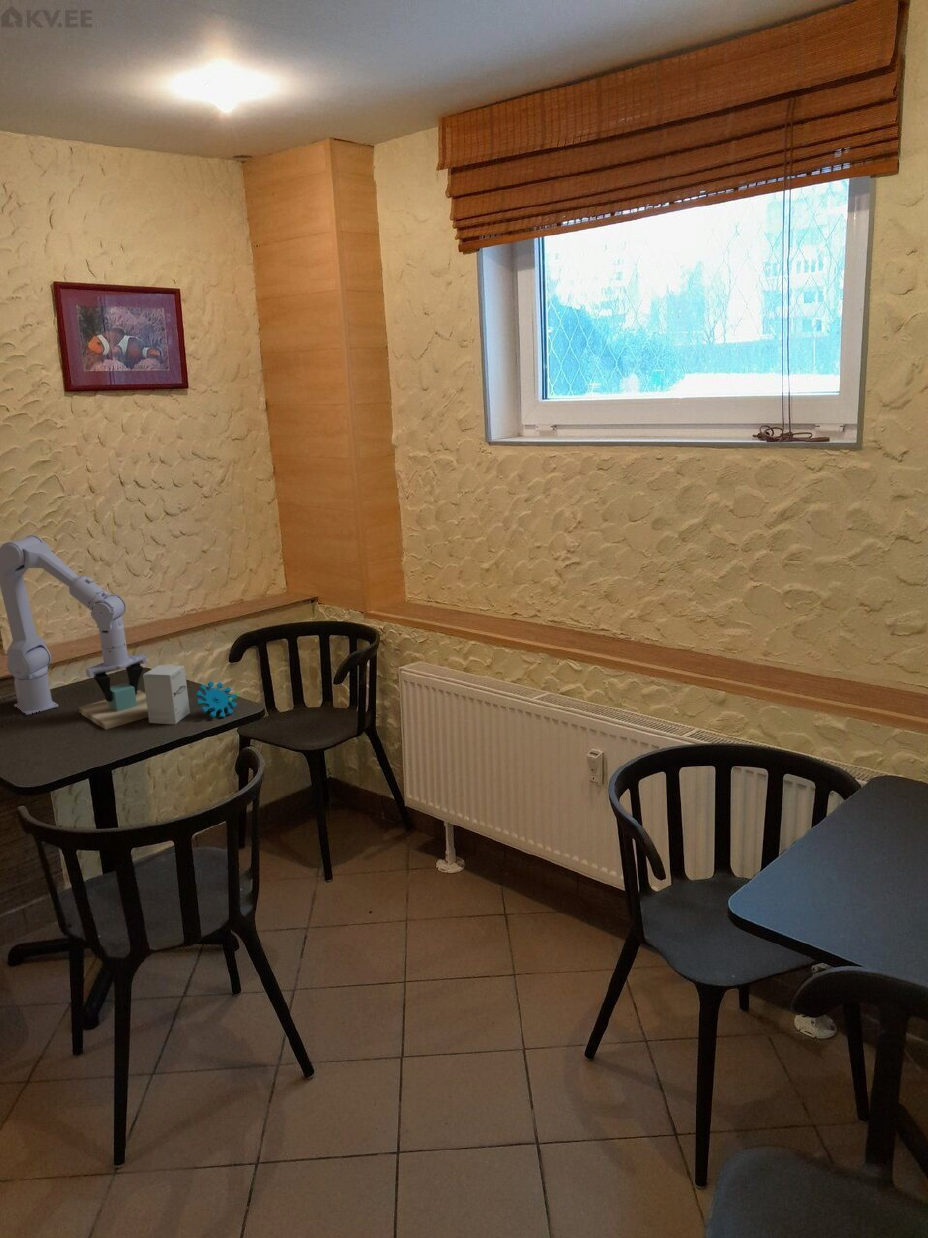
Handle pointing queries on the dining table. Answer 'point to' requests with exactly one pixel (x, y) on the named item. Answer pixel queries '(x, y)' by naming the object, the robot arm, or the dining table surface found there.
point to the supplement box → (166, 694)
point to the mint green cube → (122, 697)
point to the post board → (115, 712)
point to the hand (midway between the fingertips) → (121, 697)
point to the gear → (216, 699)
